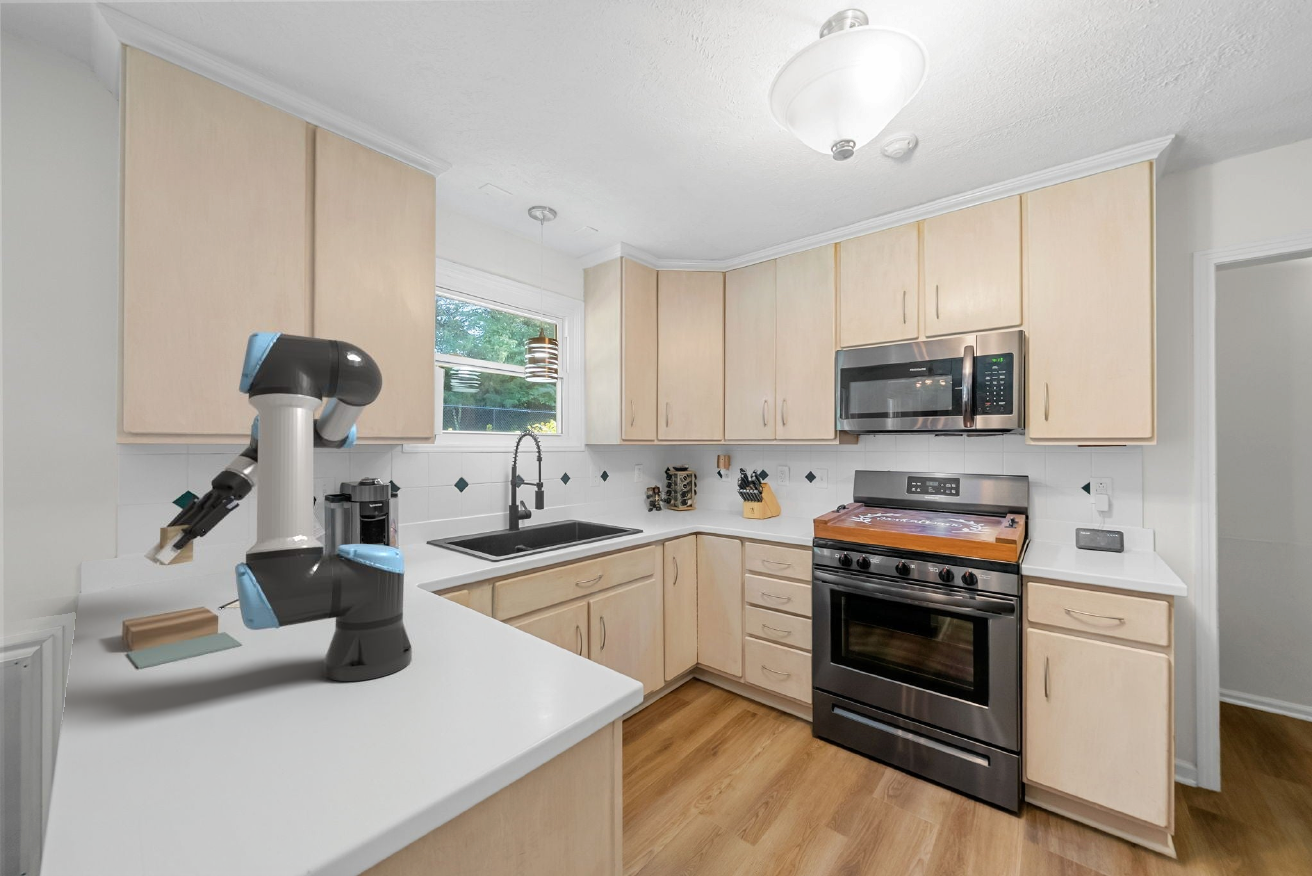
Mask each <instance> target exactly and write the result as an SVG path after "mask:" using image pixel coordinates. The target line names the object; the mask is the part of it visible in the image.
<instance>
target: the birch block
mask: <svg viewBox="0 0 1312 876" xmlns="http://www.w3.org/2000/svg"><path fill="white" fill-rule="evenodd" d="M188 526H189V525H182V526H172V527H166V526H165V527H159V530H160V532H159V541H160V551H161V550H162V549H163V548H164V547H165V546H166V545H167V544H168V543H169V542H170V541H171V540H172V539H173V538H174V537H175V536H176V535H177V534H178V533H179V532H182V533H183V534H185V533H184V532H183V531H181V529H183V528H185V529H186V528H188ZM194 541H195V539H192V540H191V541H190V542H189V543H188V544H187V545H186V546H185V547H184V548H183V549H182V550H181V551H180V552H179V553H178V554H177V555H176V556H175V557H174V558H173V559H172V560H171V561H170V562H169V563H168V564H163V563H162V562H161V561H159V562H158V565H161V566H171V565H172V566H173V565H178V564H184V563H191V562H193V561H194Z"/></svg>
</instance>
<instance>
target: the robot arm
mask: <svg viewBox="0 0 1312 876" xmlns="http://www.w3.org/2000/svg"><path fill="white" fill-rule="evenodd" d="M244 355H245V357H244V361H243V364H242V366H243V367H242V370H241V376H240V382H239V386H238V387H239V388H238V391H239V392H240V393H243V394H245V395H248V404H249V405H250V406H251V407H252V408H254V409H255V410H256V411H257V412H258V414H257V415H255V417H254V419H253V422H252V424H251V429H250V432H251V433H250V439H249V444H248V446H247V447H246V448H245V449H244V450H243V451H242V452H241V453H240V454H239V455H238V456H236V458H234V459H233V460H232V461H231V462H230V463H229V464H228V465H227V466H226V467H225V468H224V470H223V471H220V472H219V473H218V475H216V476H215V478H213V479H212V480H211V483H210V484H211V486H212V488H211V489H210V490H209V491H207V492H206V493H204V494H203V495H202V496H201V497H198V496H197V495H195V496H193V497H191V499H190V501H189V502H188V503H187V504H186V506H184V508H183V509H182V510H181V511H180V512H179V513H178V514H177V515H176V516H175V517H174V518H173V519H172V520H171V521H170V522H169V523H168V525H167V526H165V527H172V526H182V525H189V526H188V528H186V529H185V528H183V529H181V531H183V532H184V533H185V534H183V533H182V532H179V533H178V534H177V535H176V536H175V537H174V538H173V539H172V540H171V541H170V542H169V543H168V544H167V545H166V546H165V547H164V548H163V549H162V550H161V551H160V540H159V541H158V542H157V543H156V544H155V545H154V546H153V547H152V548H151V549H150V550H149V551H148V552H146V554H145V555H144V557H145V559H148V560H149V561H150V562H152V563H153V564H159V561H161V562H162V563H163V564H168V563H169V562H170V561H171V560H172V559H173V558H174V557H175V556H176V555H177V554H178V553H179V552H180V551H181V550H182V549H183V548H184V547H185V546H186V545H187V544H188V543H189V542H190V541H191V540H192V539H194V540H195V539H197V538H198V537H200V538H203V537H205V536H206V535H207V534H209V532H210V531H212V530H213V528H215V527H216V526H217V525H218V524H219V523H220V522H221V521H222V520H224V519H225V517H226V516H228V515H229V514H230V513H232V512H233V511H234V510H236V509H237V508H238V507H240V503H239V502H240V501H242V500H243V499H244V498H245V497H247V495H248V494H249V493H250V492H251V491H252V490H253V488H255V487H256V486H257V491H256V492H257V493H256V494H257V495H256V496H257V501H256V502H257V504H256V505H257V506H256V510H257V511H256V542H255V543H254V544H253V545H252V546H251V547H250V548H249V549H248V550H247V551H246V552H245V562H240V563H238V564H237V565H236V566H235V567H234V571H235V572H234V573H235V582H236V589H237V596H238V599H239V604H240V609H239V610H240V614H241V619H242V623H243V624H244V627H246V628H247V629H249V630H251V631H258V630H260V631H261V630H267V629H273V628H274V629H279V628H281V627H287V626H292V625H300V624H304V623H310V622H317V621H322V620H323V621H324V620H330V619H333V618H335V626H334V627H335V628H334V632H333V636H332V637H331V640H330V643H329V647H328V649H327V652H326V654H325V657H324V661H323V675H324V677H326V678H327V679H330V680H333V681H338V682H339V681H341V682H357V681H367V680H372V679H377V678H381V677H385V676H389V675H391V674H394V673H396V672H398V671H400V670H402V669H405V668H406V667H407V666H408V665H409V664H411V662H412V660H413V658H412V657H413V654H412V653H413V647H412V644H411V642H410V639H409V636H408V633H407V630H406V626H405V624H404V591H405V590H404V587H405V586H404V585H405V584H404V583H405V582H404V581H405V573H406V570H405V562H404V561H405V560H404V553H403V552H402V551H401V550H400V549H399V548H396V547H393V546H390V545H389V546H388V545H381V544H369V543H368V544H367V543H349V544H342V545H341V544H340V545H339V546H338V547H337V548H336V550H335V554H325V553H324V544H322V543H321V542H320V541H319V540H318V539H316V537H315V534H314V532H315V531H314V529H315V528H314V525H315V522H314V518H315V517H314V511H315V509H314V504H315V503H314V502H315V501H314V496H315V495H314V487H315V486H314V449H337V450H342V449H350V448H353V447H354V446H355V445H356V441H357V430H358V429H357V425H356V422H357V420H358V419H359V418H360V416H361V414H362V413H363V411H364V410H365V408H366V407H367V406H368V405H371V404H372V403H373V402H375V400H376V399H377V398H378V396H379V395H380V393H381V390H382V388H383V375H382V373H381V370H380V367H379V365H378V364H377V362H376V360H374V358H372V356H371V355H369V353H367V352H366V351H365V350H363V349H362V348H361V347H359V346H357V345H355V344H353V343H350V342H347V341H343V340H338V339H328V338H327V339H325V338H320V337H311V336H304V335H303V336H302V335H295V334H288V333H287V334H286V333H282V332H265V331H264V332H263V331H256V332H254V333H252V334H251V335H250V336H249V337H248V340H247V344H246V350H245V354H244ZM323 398H325V399H326V398H327V399H326V402H325V403H324V406H323ZM321 407H323V409H322V410H321V413H320V414H319V416H318V418H314V414H315V412H316V411H317V410H319V409H320V408H321ZM238 501H239V502H238Z"/></svg>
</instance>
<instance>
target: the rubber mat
mask: <svg viewBox="0 0 1312 876" xmlns="http://www.w3.org/2000/svg"><path fill="white" fill-rule="evenodd" d="M242 646H243V643H241V642H240V641H238V640H237V639H235V638H234V637H233V636H231V635H230V634H229V633H227V632H225V631H223V632H222V631H221V632H218V634H213V635H208V636H203V637H198V638H194V639H189V640H184V641H179V642H174V643H169V644H165V645H160V646H155V647H150V648H145V649H141V650H136V651H132V650H131V651H127V652H126V655H127V656H128V658H129V659H130V660H131V662H132V663H133V664H134V665H135V667H136V668H137V667H138V668H137V669H138V670H141V669H145V667H146V668H150V667H154V665H155V666H158V665H159V666H160V665H164V664H167V663H172V662H177V661H180V660H184V659H185V660H186V659H188V658H189V659H190V658H193V657H199V656H202V655H206V654H212V653H215V652H219V651H224V650H229V649H233V648H237V647H242Z"/></svg>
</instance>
